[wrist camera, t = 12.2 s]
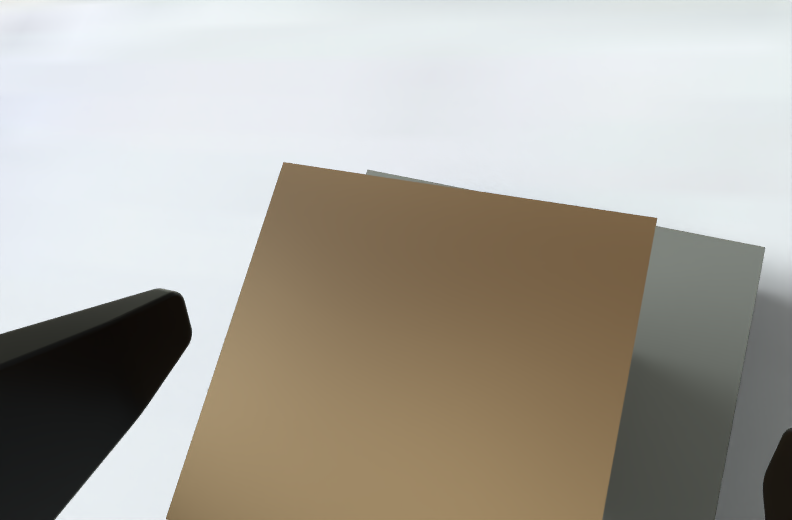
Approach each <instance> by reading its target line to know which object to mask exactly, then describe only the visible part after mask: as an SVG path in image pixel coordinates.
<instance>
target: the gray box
mask: <svg viewBox="0 0 792 520" xmlns="http://www.w3.org/2000/svg"><path fill="white" fill-rule="evenodd" d="M366 175H372V176H379V177H385V178H392V179H399V180H406V181H412V182H419V183H426V184H432V185H439V186H446V187H452V188H459V187H453V186H448V185H443V184H438V183H433V182H428V181H423V180H418V179H412V178H407V177H402V176H397V175H392V174H387V173H382V172H377V171H371V170H367V173H366ZM459 189H464V188H459ZM466 190H469V189H466ZM472 191H474V190H472ZM764 251H765V247H761V246H756V245H750V244H745V243H740V242H735V241H730V240H725V239H720V238H715V237H710V236H704V235H699V234H694V233H689V232H684V231H679V230H674V229H669V228H663V227H658V226H656V227H655V233H654V238H653V244H652V249H651V255H650V260H649V266H648V271H647V277H646V282H645V288H644V293H643V299H642V304H641V310H640V315H639V320H638V326H637V331H636V337H635V342H634V348H633V353H632V359H631V364H630V370H629V375H628V381H627V386H626V392H625V397H624V403H623V408H622V414H621V419H620V425H619V430H618V436H617V441H616V447H615V452H614V458H613V463H612V469H611V474H610V480H609V485H608V490H607V496H606V501H605V507H604V512H603V518H602V520H715V514H716V509H717V503H718V498H719V493H720V487H721V482H722V477H723V471H724V466H725V461H726V455H727V450H728V444H729V439H730V434H731V428H732V423H733V418H734V412H735V407H736V402H737V396H738V391H739V385H740V380H741V375H742V369H743V364H744V359H745V353H746V348H747V343H748V337H749V332H750V327H751V321H752V316H753V310H754V305H755V300H756V294H757V289H758V284H759V278H760V273H761V268H762V262H763V257H764Z"/></svg>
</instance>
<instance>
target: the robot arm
mask: <svg viewBox="0 0 792 520" xmlns="http://www.w3.org/2000/svg"><path fill="white" fill-rule="evenodd" d="M191 337H192V328H191V324H190V320H189V316H188V313H187V309H186V305H185V301H184V298H183V297H182V295H181V294H180V293H178V292H176V291H171V290H167V289H161V288H158V289H153V290H150V291H146V292H143V293H139V294H136V295H132V296H129V297H126V298H122V299H119V300H115V301H112V302H109V303H105V304H102V305H98V306H95V307H91V308H88V309H85V310H81V311H78V312H74V313H71V314H68V315H64V316H61V317H57V318H54V319H50V320H47V321H44V322H40V323H37V324H33V325H30V326H27V327H23V328H20V329H16V330H13V331H9V332H6V333H3V334H0V520H55V519H56V518H57V516H58V515H59V514H60V513H61V511H62V510H63V509H64V508H65V507H66V505H67V504H68V503H69V502H70V501H71V499H72V498H73V497H74V496H75V494H76V493H77V492H78V491H79V490H80V488H81V487H82V486H83V485H84V484H85V482H86V481H87V480H88V479H89V477H90V476H91V475H92V474H93V473H94V471H95V470H96V469H97V468H98V467H99V465H100V464H101V463H102V462H103V460H104V459H105V458H106V457H107V456H108V454H109V453H110V452H111V451H112V450H113V448H114V447H115V446H116V445H117V443H118V442H119V441H120V440H121V439H122V437H123V436H124V435H125V434H126V432H127V431H128V430H129V429H130V428H131V426H132V425H133V424H134V423H135V421H136V420H137V419H138V417H139V416H140V415H141V414H142V412H143V411H144V409H145V408H146V407H147V405H148V404H149V402H150V401H151V399H152V398H153V396H154V395H155V394H156V392H157V391H158V389H159V388H160V386H161V385H162V383H163V382H164V380H165V379H166V377H167V376H168V374H169V373H170V372H171V370H172V369H173V367H174V366H175V364H176V363H177V361H178V360H179V358H180V357H181V355H182V354H183V353H184V351H185V350H186V348H187V347H188V345H189V343H190V341H191ZM763 498H764V509H765V520H792V428H790V429H788V430H787V431H786V432H785V433H784V434H783V436H782V438H781V440H780V442H779V444H778V447H777V449H776V451H775V453H774V455H773V457H772V460H771V462H770V464H769V466H768V468H767V470H766V473H765V476H764V482H763Z"/></svg>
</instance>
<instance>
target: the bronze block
mask: <svg viewBox="0 0 792 520" xmlns="http://www.w3.org/2000/svg"><path fill="white" fill-rule="evenodd" d="M656 222H657V218H653V217H646V216H640V215H633V214H626V213H620V212H613V211H606V210H599V209H593V208H586V207H579V206H573V205H566V204H559V203H553V202H546V201H539V200H533V199H526V198H519V197H513V196H506V195H499V194H492V193H486V192H479V191H472V190H466V189H459V188H452V187H446V186H439V185H432V184H426V183H419V182H412V181H406V180H399V179H392V178H385V177H379V176H372V175H365V174H359V173H352V172H345V171H339V170H332V169H325V168H319V167H312V166H305V165H299V164H292V163H285V162H283V165H282V168H281V171H280V174H279V177H278V180H277V183H276V186H275V189H274V192H273V195H272V198H271V202H270V205H269V208H268V211H267V214H266V217H265V220H264V223H263V226H262V229H261V232H260V235H259V238H258V241H257V244H256V247H255V250H254V253H253V256H252V259H251V262H250V265H249V268H248V271H247V274H246V277H245V280H244V283H243V286H242V289H241V292H240V295H239V299H238V302H237V305H236V308H235V311H234V314H233V317H232V320H231V323H230V326H229V329H228V332H227V335H226V338H225V341H224V344H223V347H222V350H221V353H220V356H219V359H218V362H217V365H216V368H215V371H214V374H213V377H212V380H211V383H210V386H209V389H208V392H207V395H206V398H205V402H204V405H203V408H202V411H201V414H200V417H199V420H198V423H197V426H196V429H195V432H194V435H193V438H192V441H191V444H190V447H189V450H188V453H187V456H186V459H185V462H184V465H183V468H182V471H181V474H180V477H179V480H178V483H177V486H176V489H175V492H174V495H173V498H172V502H171V505H170V508H169V511H168V514H167V517H166V519H167V520H602V518H603V512H604V507H605V501H606V496H607V490H608V485H609V480H610V474H611V469H612V463H613V458H614V452H615V447H616V441H617V436H618V430H619V425H620V419H621V414H622V408H623V403H624V397H625V392H626V386H627V381H628V375H629V370H630V364H631V359H632V353H633V348H634V342H635V337H636V331H637V326H638V320H639V315H640V310H641V304H642V299H643V293H644V288H645V282H646V277H647V271H648V266H649V260H650V255H651V249H652V244H653V238H654V233H655V227H656Z"/></svg>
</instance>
